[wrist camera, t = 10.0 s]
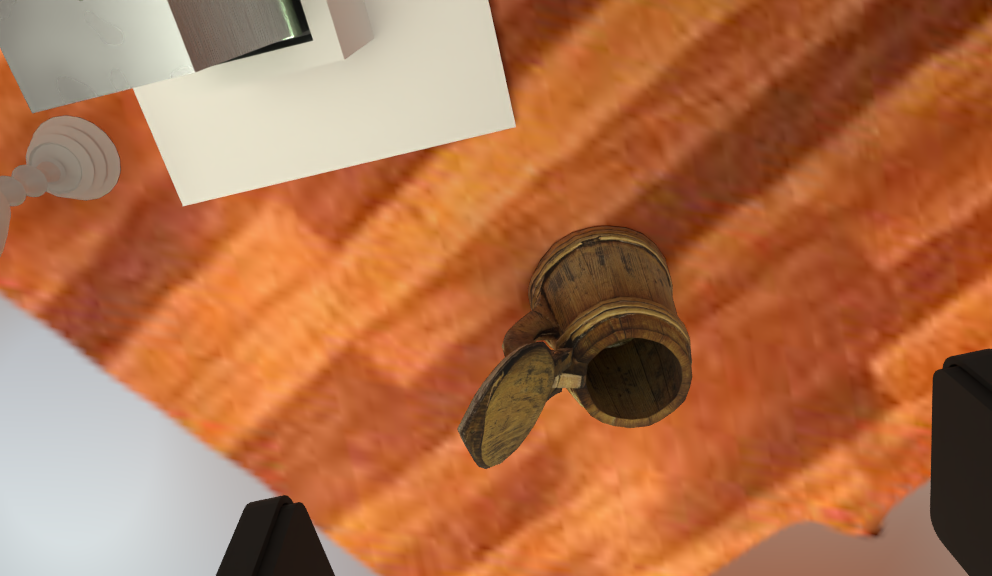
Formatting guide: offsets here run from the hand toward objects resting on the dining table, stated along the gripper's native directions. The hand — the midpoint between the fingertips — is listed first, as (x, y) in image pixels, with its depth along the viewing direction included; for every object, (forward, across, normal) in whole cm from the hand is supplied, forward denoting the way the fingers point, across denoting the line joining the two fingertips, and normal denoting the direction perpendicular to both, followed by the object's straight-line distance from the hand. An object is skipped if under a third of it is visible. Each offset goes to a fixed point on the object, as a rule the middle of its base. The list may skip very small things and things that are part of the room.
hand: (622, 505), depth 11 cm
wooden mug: (+34, -1, +12) cm, 37 cm away
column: (+27, +10, -9) cm, 30 cm away
